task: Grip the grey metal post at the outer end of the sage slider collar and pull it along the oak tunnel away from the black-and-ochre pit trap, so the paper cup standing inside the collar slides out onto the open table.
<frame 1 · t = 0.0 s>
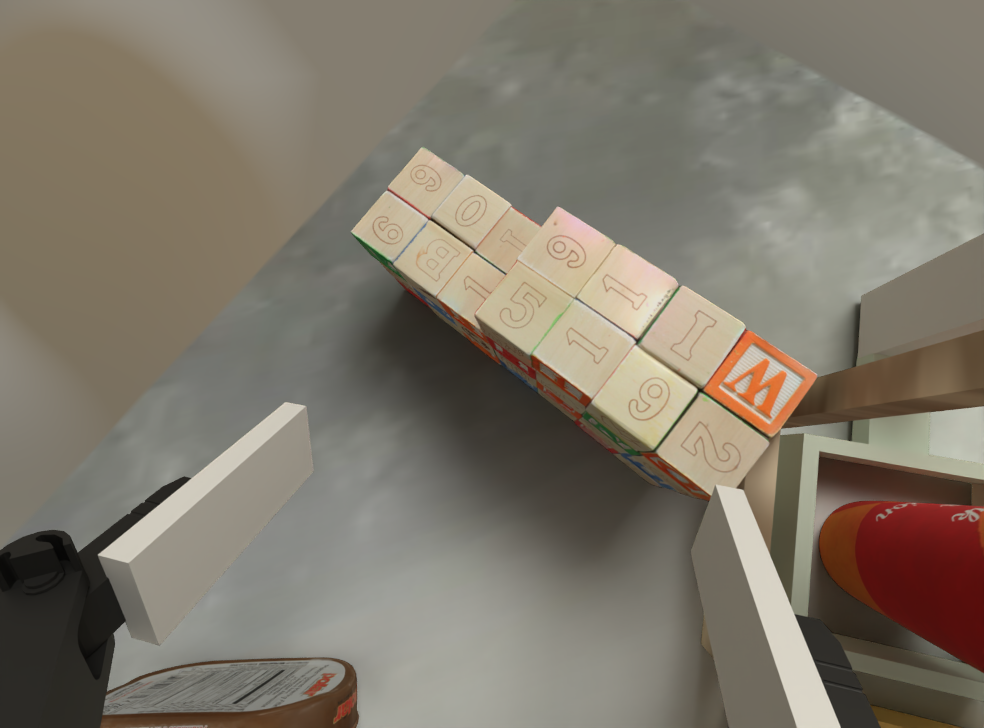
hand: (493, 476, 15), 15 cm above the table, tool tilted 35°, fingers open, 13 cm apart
paper cup: (867, 549, 27), resting in slider collar
stack of blocks: (547, 346, 32), on the table
slider collar: (952, 470, 22), point 5 cm above the table, slide at 0.0 cm
tin: (267, 673, 30), on the table
oak tunnel: (869, 550, 27), on the table
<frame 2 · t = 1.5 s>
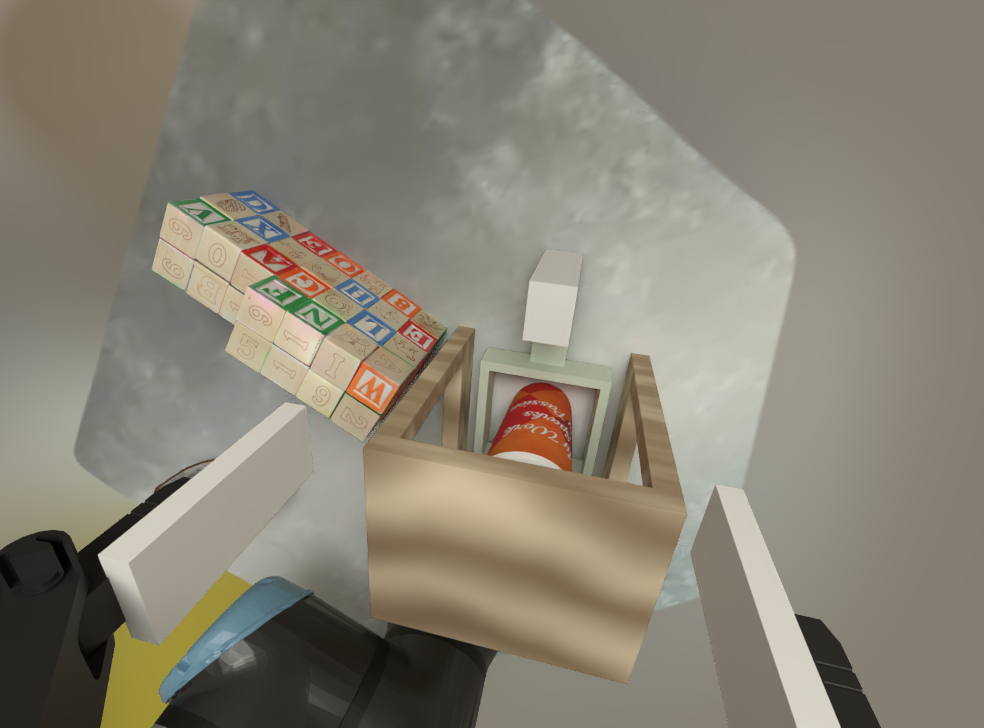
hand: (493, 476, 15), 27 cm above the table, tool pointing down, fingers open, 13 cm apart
paper cup: (541, 406, 45), resting in slider collar
stack of blocks: (341, 285, 44), on the table
slider collar: (541, 391, 37), point 5 cm above the table, slide at 0.0 cm
tin: (247, 462, 56), on the table
oak tunnel: (541, 407, 44), on the table
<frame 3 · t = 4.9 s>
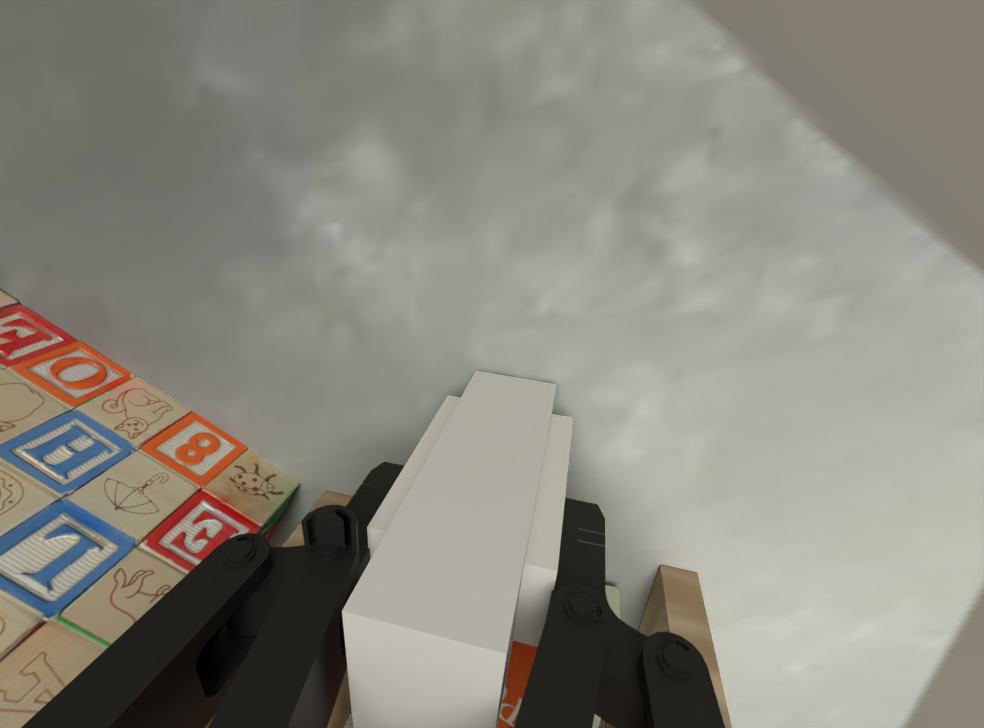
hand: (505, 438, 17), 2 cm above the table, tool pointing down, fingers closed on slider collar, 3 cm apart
paper cup: (489, 625, 24), resting in slider collar
stack of blocks: (105, 398, 23), on the table
slider collar: (465, 683, 17), point 5 cm above the table, slide at 0.0 cm, touching gripper
oak tunnel: (488, 629, 24), on the table
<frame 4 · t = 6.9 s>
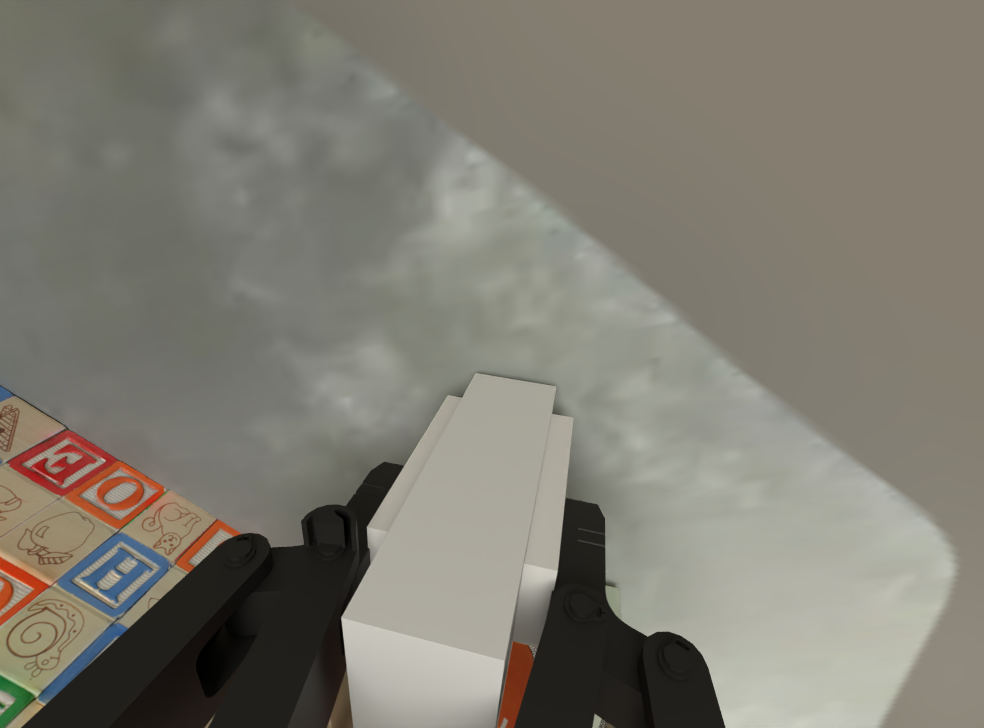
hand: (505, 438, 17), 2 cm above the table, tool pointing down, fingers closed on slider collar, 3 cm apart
paper cup: (482, 647, 25), resting in slider collar
stack of blocks: (140, 502, 26), on the table
slider collar: (466, 684, 17), point 5 cm above the table, slide at 7.1 cm, touching gripper
oak tunnel: (480, 706, 27), on the table
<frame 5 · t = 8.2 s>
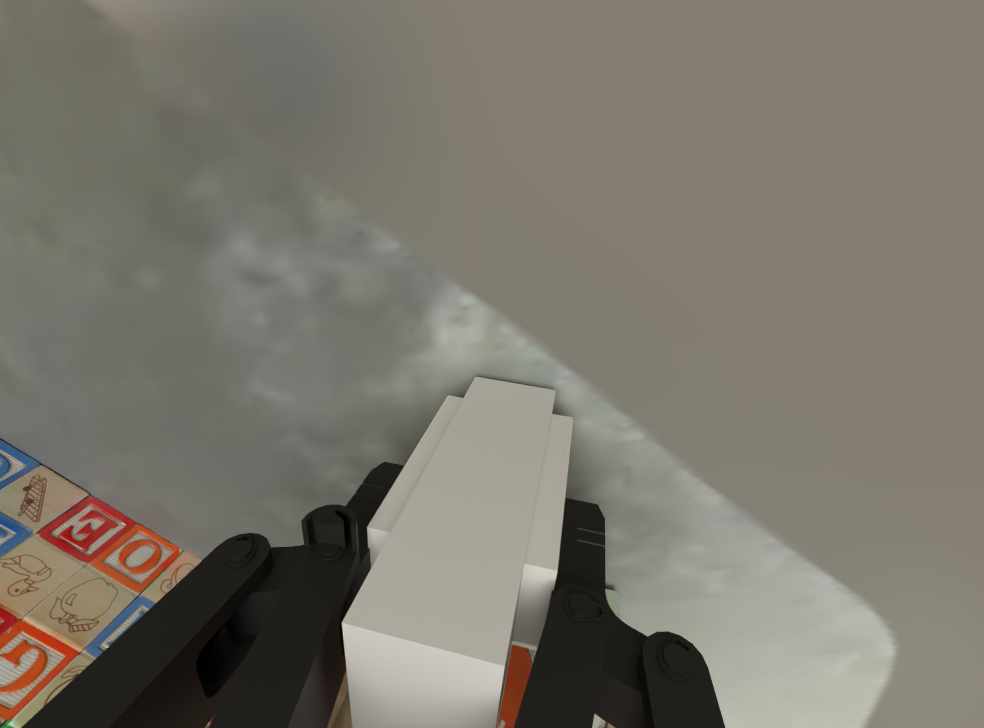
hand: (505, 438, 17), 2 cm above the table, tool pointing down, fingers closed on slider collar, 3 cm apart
paper cup: (480, 649, 25), resting in slider collar
stack of blocks: (156, 559, 28), on the table
slider collar: (465, 688, 17), point 5 cm above the table, slide at 11.6 cm, touching gripper, paper cup
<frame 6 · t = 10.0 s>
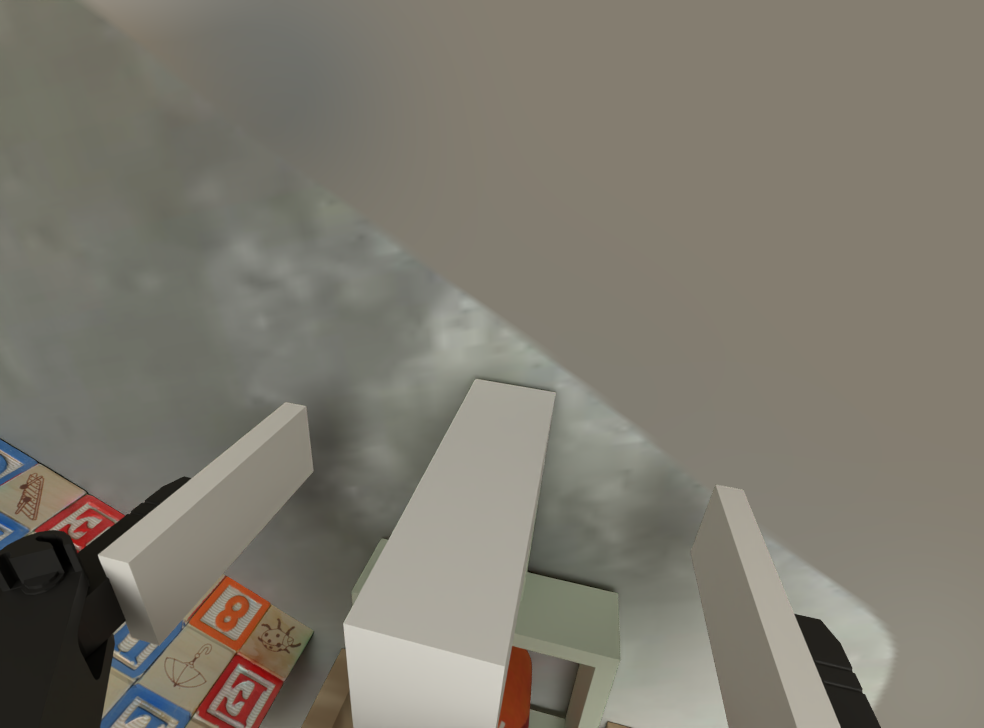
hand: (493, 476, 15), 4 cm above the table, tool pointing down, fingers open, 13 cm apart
paper cup: (480, 651, 25), resting in slider collar
stack of blocks: (153, 558, 28), on the table
slider collar: (465, 689, 17), point 5 cm above the table, slide at 11.7 cm
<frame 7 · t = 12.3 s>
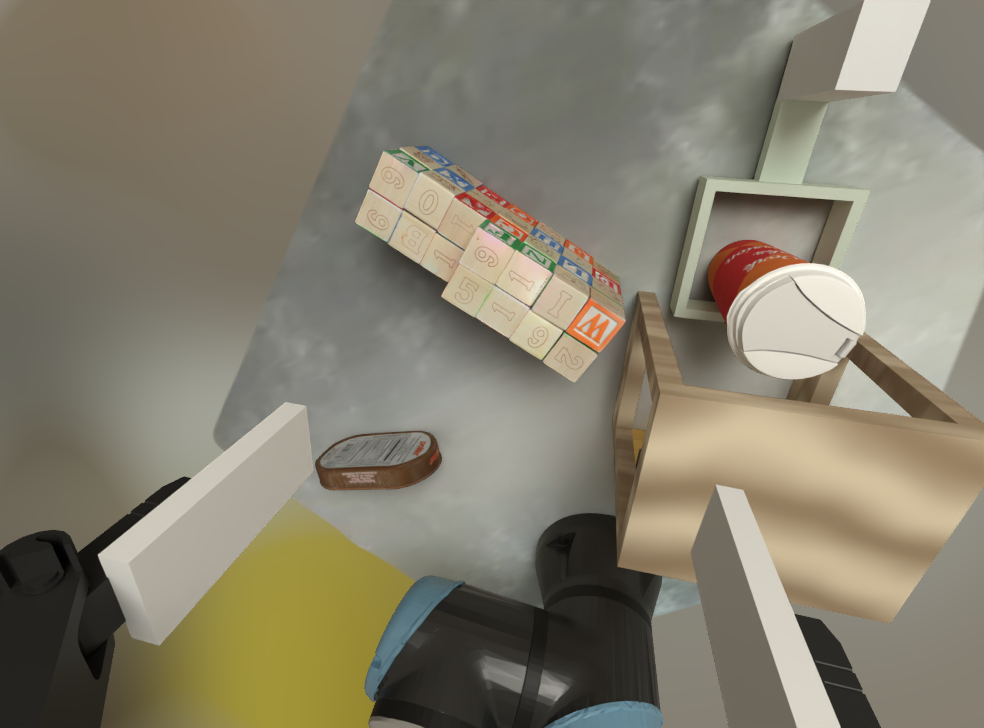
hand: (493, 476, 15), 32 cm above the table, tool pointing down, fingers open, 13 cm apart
paper cup: (740, 270, 41), resting in slider collar
stack of blocks: (508, 239, 44), on the table
slider collar: (792, 199, 33), point 5 cm above the table, slide at 11.7 cm
tin: (392, 437, 58), on the table
oak tunnel: (714, 370, 45), on the table
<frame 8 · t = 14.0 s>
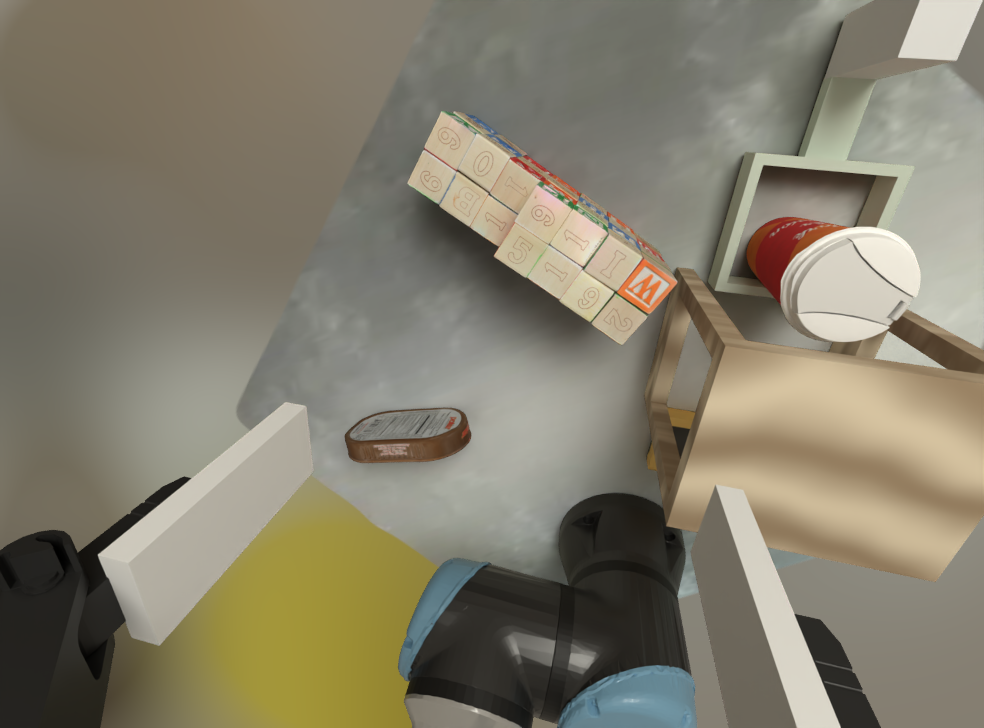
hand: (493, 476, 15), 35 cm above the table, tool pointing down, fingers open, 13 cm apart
paper cup: (778, 248, 42), resting in slider collar
stack of blocks: (549, 211, 45), on the table
pit trap: (714, 444, 51), on the table
slider collar: (841, 172, 34), point 5 cm above the table, slide at 11.7 cm
tin: (419, 414, 58), on the table
oak tunnel: (748, 348, 46), on the table
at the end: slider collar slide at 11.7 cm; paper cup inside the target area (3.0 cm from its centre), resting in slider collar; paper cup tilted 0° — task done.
